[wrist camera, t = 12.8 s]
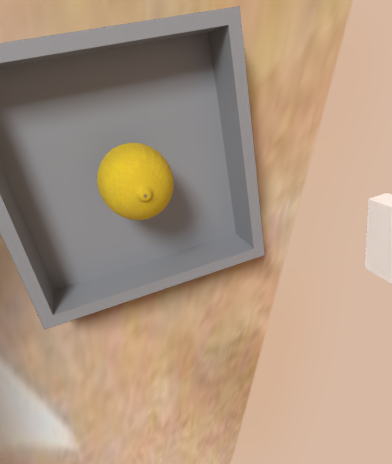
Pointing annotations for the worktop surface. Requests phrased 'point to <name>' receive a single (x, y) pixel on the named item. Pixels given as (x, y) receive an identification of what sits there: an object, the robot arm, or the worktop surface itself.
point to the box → (117, 133)
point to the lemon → (135, 181)
